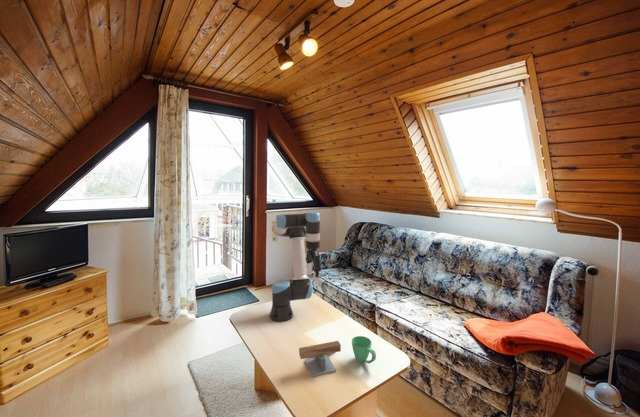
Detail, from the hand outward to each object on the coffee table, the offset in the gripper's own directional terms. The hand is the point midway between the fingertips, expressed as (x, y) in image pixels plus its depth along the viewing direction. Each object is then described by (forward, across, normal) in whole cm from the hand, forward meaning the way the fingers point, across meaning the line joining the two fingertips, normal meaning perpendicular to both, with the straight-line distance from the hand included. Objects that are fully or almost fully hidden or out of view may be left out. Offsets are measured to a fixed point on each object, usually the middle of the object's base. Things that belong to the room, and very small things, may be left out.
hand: (313, 278), depth 158 cm
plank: (+30, +22, -3) cm, 37 cm away
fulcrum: (+37, +22, -3) cm, 43 cm away
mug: (+37, +26, +19) cm, 49 cm away
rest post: (+37, +13, +3) cm, 39 cm away
